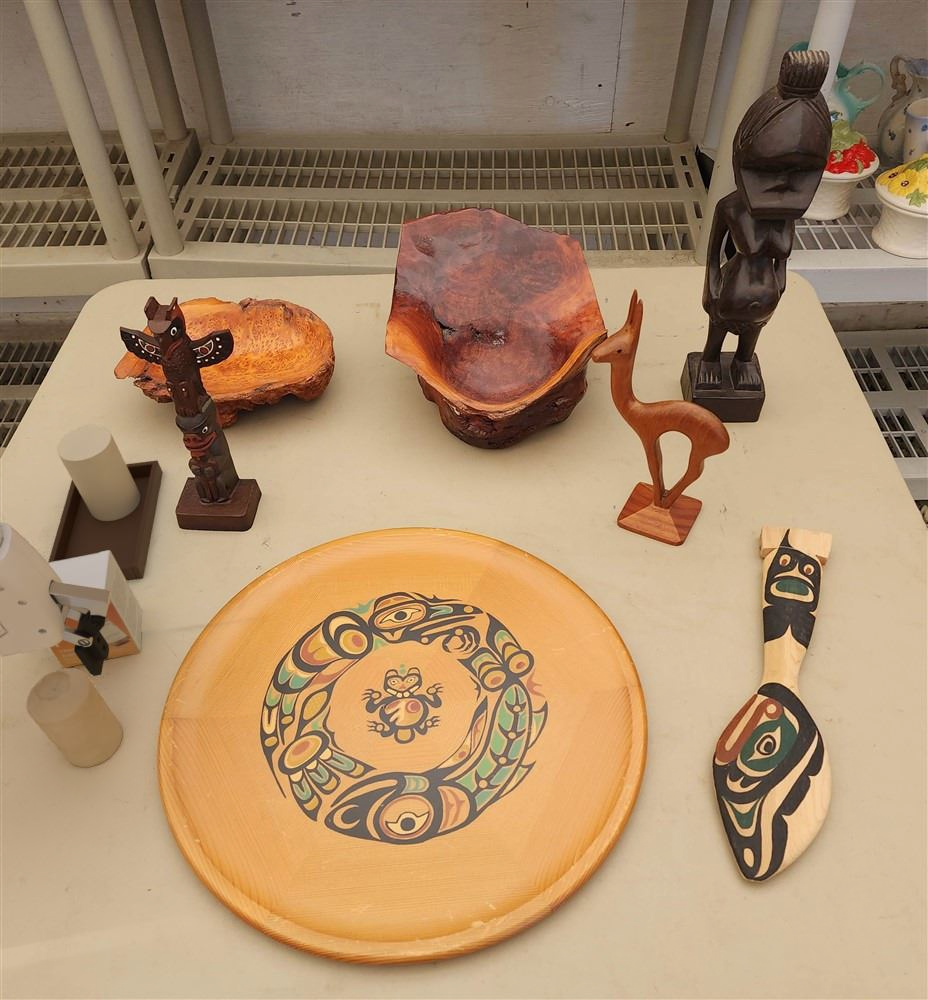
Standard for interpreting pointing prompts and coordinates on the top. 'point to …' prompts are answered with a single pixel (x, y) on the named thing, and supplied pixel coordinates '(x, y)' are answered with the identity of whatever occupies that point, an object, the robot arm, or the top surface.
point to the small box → (122, 608)
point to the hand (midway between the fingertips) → (43, 669)
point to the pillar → (99, 472)
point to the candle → (75, 717)
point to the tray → (112, 525)
